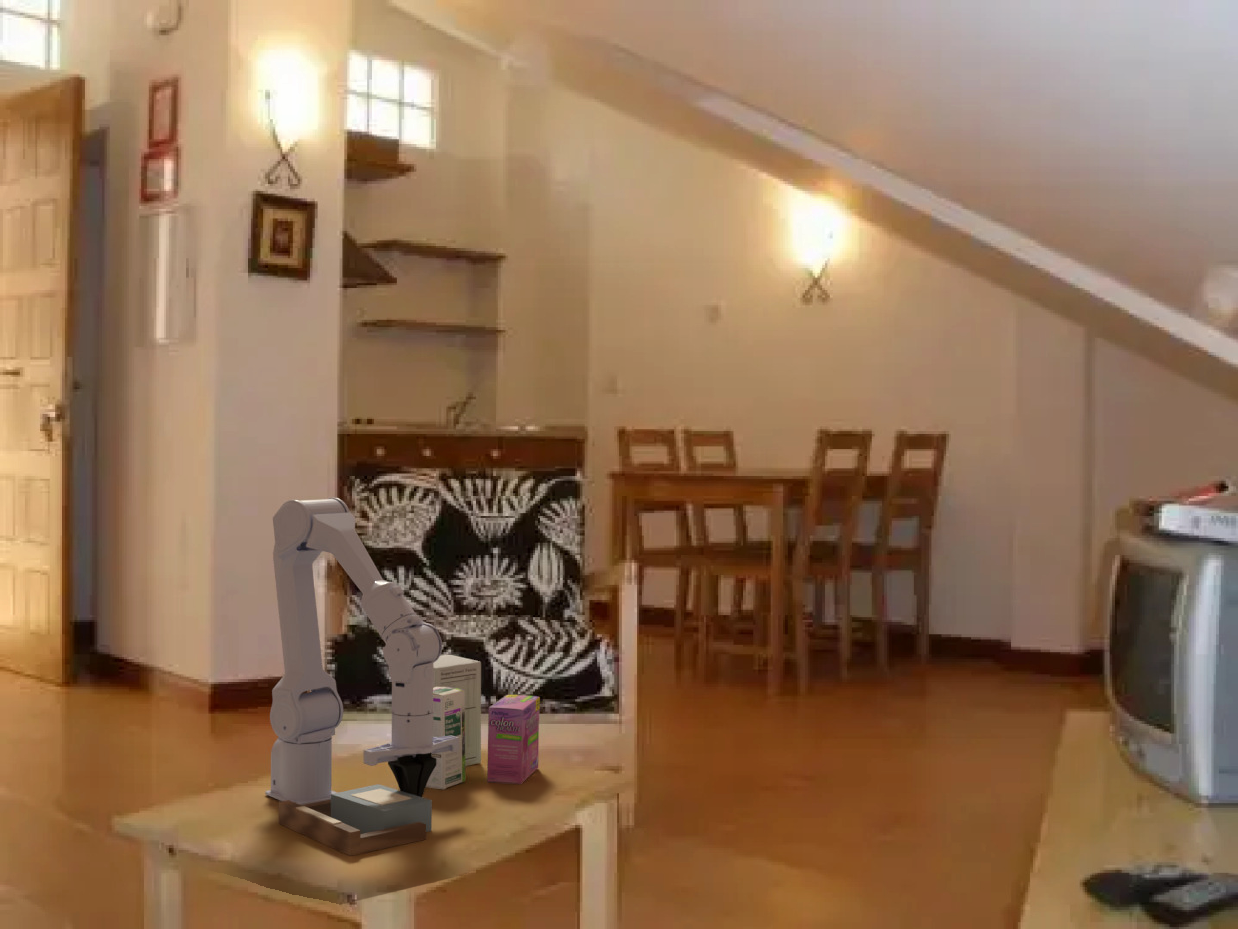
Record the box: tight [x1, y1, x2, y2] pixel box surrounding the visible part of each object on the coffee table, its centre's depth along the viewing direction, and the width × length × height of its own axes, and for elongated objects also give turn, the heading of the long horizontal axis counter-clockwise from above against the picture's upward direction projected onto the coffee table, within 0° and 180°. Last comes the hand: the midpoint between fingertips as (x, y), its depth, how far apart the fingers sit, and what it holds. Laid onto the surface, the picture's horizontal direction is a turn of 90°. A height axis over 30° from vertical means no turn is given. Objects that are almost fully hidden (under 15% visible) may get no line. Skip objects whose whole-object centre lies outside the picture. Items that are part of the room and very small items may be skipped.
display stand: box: [278, 800, 427, 857], centre depth 193 cm, size 19×12×3 cm, turn 41°
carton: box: [331, 783, 433, 834], centre depth 195 cm, size 12×8×5 cm, turn 46°
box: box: [486, 694, 541, 785], centre depth 225 cm, size 10×6×12 cm, turn 168°
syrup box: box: [425, 687, 466, 790], centre depth 219 cm, size 6×6×14 cm
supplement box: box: [433, 654, 482, 767], centre depth 232 cm, size 10×9×17 cm
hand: (411, 809), depth 199 cm, fingers closed
